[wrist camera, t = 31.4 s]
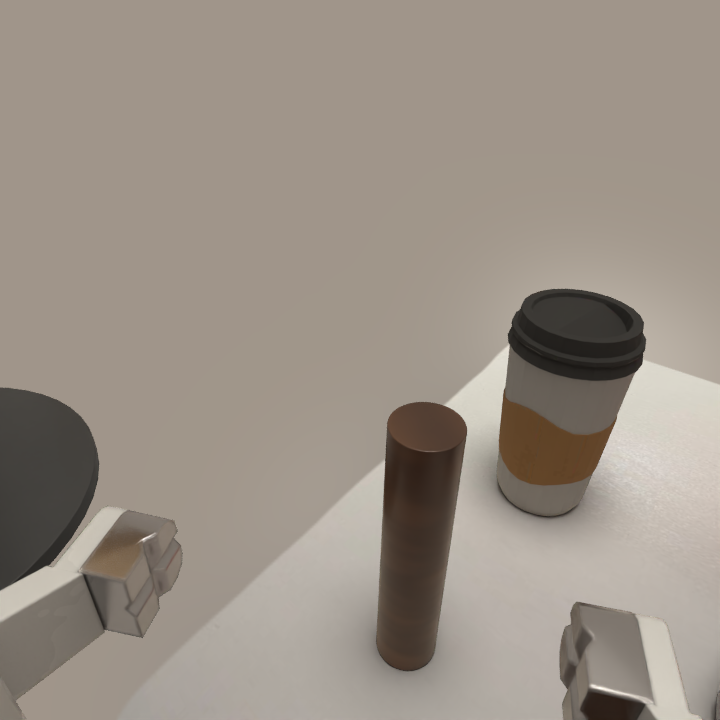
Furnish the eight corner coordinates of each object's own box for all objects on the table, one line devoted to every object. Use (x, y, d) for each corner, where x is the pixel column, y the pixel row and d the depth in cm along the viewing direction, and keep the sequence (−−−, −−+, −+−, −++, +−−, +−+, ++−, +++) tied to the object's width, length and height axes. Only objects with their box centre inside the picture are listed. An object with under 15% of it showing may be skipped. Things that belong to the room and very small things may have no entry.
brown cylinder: (386, 677, 31) (402, 458, 22) (369, 622, 34) (377, 407, 25) (444, 662, 32) (480, 444, 23) (423, 609, 34) (448, 396, 26)
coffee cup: (615, 490, 43) (677, 316, 35) (556, 550, 38) (611, 364, 30) (522, 437, 48) (558, 275, 40) (460, 483, 43) (486, 310, 35)
